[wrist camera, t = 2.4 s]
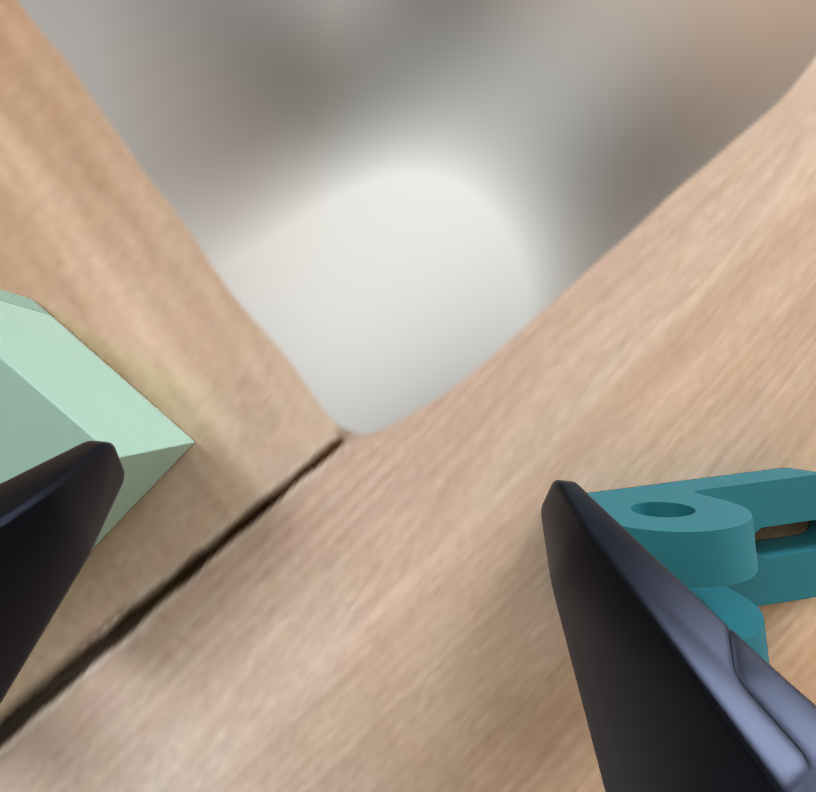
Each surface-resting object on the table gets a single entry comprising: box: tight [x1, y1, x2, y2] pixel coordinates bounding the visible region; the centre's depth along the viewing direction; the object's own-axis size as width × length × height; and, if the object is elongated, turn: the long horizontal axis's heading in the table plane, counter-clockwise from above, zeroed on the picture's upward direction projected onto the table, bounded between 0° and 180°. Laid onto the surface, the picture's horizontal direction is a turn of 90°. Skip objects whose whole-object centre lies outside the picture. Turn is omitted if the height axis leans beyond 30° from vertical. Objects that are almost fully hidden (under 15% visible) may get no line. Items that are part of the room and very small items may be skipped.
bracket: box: [587, 468, 816, 664], centre depth 21 cm, size 18×7×8 cm, turn 96°
